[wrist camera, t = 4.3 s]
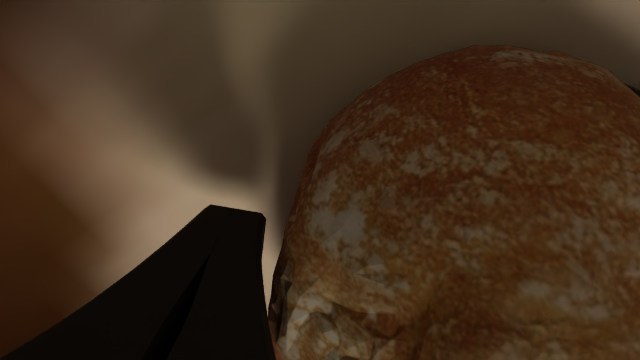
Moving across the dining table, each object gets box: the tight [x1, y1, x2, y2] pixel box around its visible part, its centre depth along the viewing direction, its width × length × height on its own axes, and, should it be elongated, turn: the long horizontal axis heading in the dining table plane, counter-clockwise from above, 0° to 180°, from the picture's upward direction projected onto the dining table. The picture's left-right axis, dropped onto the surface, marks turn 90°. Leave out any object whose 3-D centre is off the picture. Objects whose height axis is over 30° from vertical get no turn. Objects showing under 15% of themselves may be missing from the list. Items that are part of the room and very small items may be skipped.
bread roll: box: [268, 45, 640, 360], centre depth 9 cm, size 10×10×8 cm
